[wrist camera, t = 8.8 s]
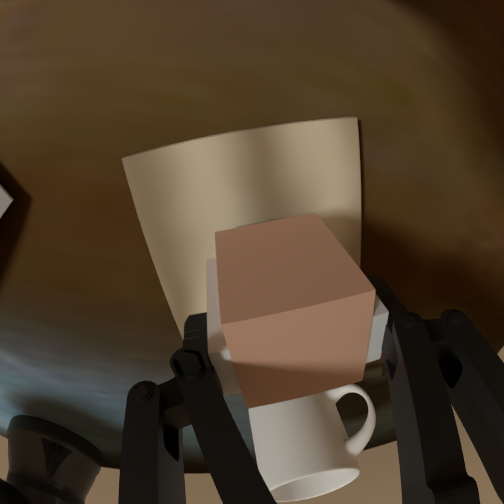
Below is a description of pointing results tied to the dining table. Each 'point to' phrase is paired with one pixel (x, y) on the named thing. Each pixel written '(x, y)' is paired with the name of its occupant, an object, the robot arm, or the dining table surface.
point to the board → (241, 194)
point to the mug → (307, 444)
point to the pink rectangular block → (292, 309)
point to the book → (4, 200)
